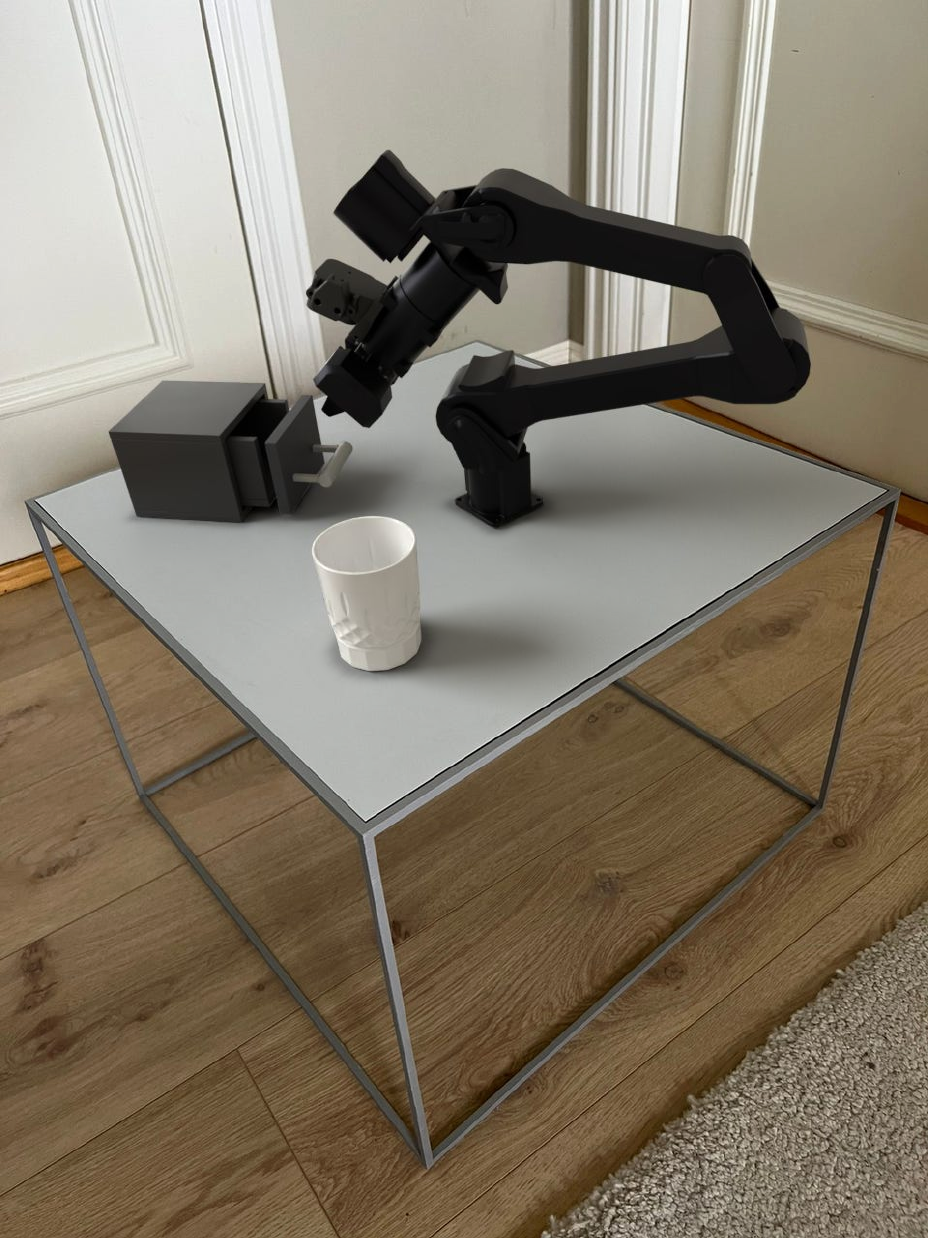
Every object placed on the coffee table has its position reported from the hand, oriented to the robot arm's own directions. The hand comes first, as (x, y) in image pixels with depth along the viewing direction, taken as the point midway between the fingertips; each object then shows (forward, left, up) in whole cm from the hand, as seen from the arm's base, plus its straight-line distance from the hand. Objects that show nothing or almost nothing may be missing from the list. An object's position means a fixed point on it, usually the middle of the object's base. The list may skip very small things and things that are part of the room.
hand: (325, 412), depth 91 cm
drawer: (+5, +4, -9) cm, 11 cm away
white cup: (-23, +10, -10) cm, 27 cm away
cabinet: (+11, +9, -9) cm, 17 cm away
